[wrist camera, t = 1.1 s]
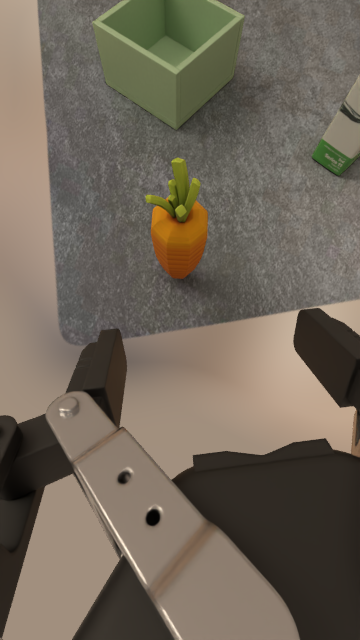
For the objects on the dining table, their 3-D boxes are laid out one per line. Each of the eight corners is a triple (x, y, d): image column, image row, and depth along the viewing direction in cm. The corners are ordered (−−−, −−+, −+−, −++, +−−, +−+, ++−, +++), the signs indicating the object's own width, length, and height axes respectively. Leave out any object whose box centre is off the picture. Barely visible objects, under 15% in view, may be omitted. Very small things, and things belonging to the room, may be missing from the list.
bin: (176, 130, 37) (176, 74, 30) (106, 84, 39) (91, 21, 32) (233, 77, 40) (245, 15, 33) (165, 37, 42) (163, -29, 35)
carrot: (188, 301, 30) (200, 221, 16) (150, 284, 31) (127, 191, 16) (205, 266, 31) (231, 161, 17) (168, 250, 32) (163, 135, 17)
